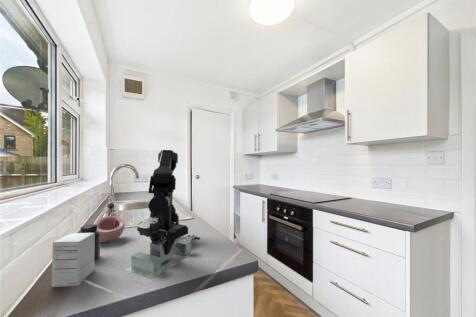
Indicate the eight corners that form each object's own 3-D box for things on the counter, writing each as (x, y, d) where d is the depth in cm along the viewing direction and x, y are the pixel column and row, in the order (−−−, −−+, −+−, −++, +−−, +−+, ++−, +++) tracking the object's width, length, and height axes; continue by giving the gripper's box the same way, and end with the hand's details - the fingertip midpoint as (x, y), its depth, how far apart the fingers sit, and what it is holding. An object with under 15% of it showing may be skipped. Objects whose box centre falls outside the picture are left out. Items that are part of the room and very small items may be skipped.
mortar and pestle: (94, 249, 81) (94, 220, 81) (91, 240, 90) (91, 215, 90) (127, 241, 89) (127, 215, 89) (121, 234, 98) (121, 210, 98)
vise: (124, 272, 63) (124, 257, 63) (171, 248, 81) (171, 236, 81) (151, 281, 58) (151, 265, 58) (194, 254, 76) (194, 241, 76)
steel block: (150, 261, 67) (150, 243, 68) (163, 253, 73) (163, 237, 73) (159, 264, 65) (159, 245, 66) (172, 256, 71) (173, 239, 71)
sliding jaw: (164, 250, 77) (164, 240, 77) (185, 240, 87) (185, 230, 88) (185, 255, 73) (185, 244, 73) (204, 244, 83) (204, 234, 83)
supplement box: (70, 273, 63) (71, 232, 63) (95, 272, 63) (95, 232, 64) (50, 287, 55) (51, 241, 56) (78, 286, 56) (79, 240, 56)
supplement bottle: (104, 256, 74) (104, 224, 74) (85, 265, 67) (85, 229, 68) (91, 254, 76) (92, 222, 76) (71, 262, 70) (72, 227, 70)
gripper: (123, 210, 66) (122, 257, 66) (164, 216, 58) (164, 270, 58) (150, 204, 77) (150, 245, 76) (189, 208, 68) (189, 254, 68)
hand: (162, 253), depth 69 cm, fingers closed on steel block, 4 cm apart
